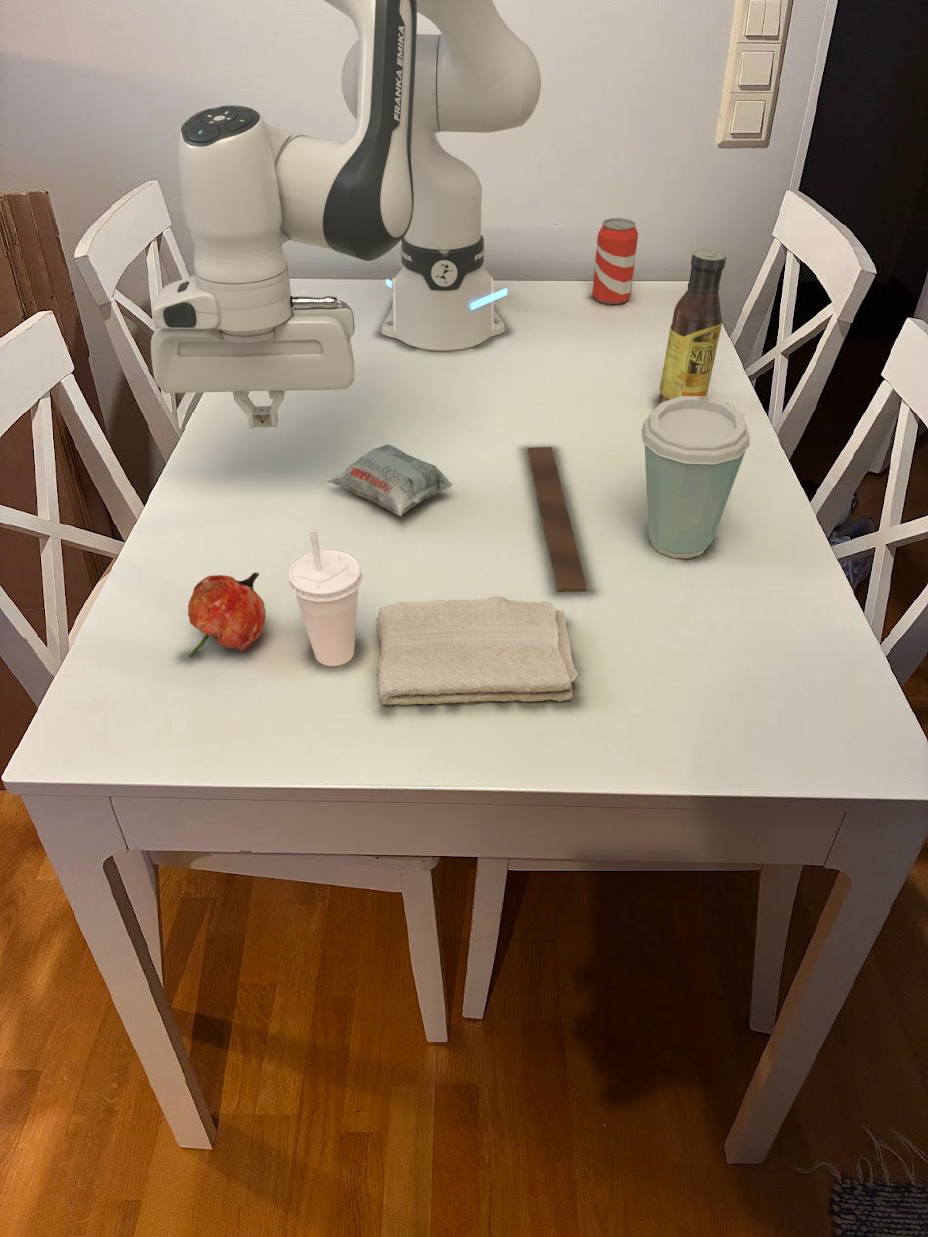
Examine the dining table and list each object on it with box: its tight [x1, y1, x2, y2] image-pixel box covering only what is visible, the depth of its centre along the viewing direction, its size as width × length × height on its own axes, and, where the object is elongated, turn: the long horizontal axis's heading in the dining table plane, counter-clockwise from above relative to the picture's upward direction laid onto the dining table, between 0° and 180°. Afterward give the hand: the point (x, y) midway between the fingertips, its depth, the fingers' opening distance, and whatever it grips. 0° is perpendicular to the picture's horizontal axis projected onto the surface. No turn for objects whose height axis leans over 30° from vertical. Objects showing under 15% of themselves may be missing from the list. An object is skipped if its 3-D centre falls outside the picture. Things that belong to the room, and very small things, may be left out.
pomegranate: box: [187, 572, 267, 658], centre depth 86 cm, size 7×7×10 cm
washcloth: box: [376, 596, 580, 706], centre depth 85 cm, size 12×18×3 cm, turn 94°
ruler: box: [526, 446, 588, 592], centre depth 105 cm, size 28×3×1 cm, turn 3°
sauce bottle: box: [658, 249, 727, 404], centre depth 118 cm, size 6×6×20 cm
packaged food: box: [326, 444, 453, 517], centre depth 106 cm, size 9×12×5 cm
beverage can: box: [591, 217, 639, 305], centre depth 149 cm, size 6×6×12 cm
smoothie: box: [288, 528, 364, 667], centre depth 83 cm, size 6×6×14 cm
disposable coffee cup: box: [640, 396, 751, 559], centre depth 96 cm, size 11×11×15 cm
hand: (264, 425), depth 100 cm, fingers closed
